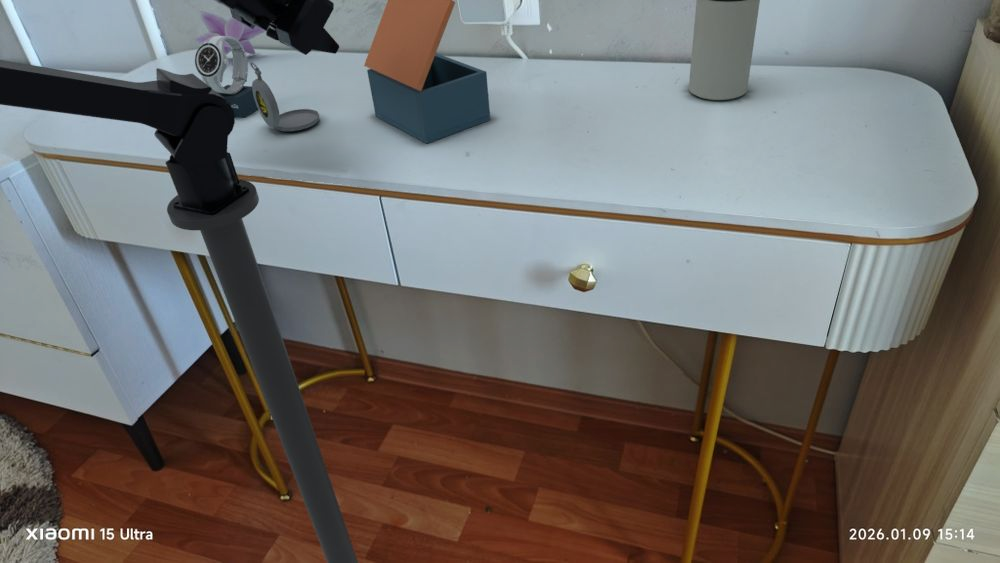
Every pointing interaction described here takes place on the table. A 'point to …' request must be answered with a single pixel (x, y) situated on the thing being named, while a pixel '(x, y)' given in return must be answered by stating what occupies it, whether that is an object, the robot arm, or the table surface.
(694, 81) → the travel mug
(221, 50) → the watch
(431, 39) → the box lid
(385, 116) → the storage box
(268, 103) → the pocket watch
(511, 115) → the table surface
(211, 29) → the lily
